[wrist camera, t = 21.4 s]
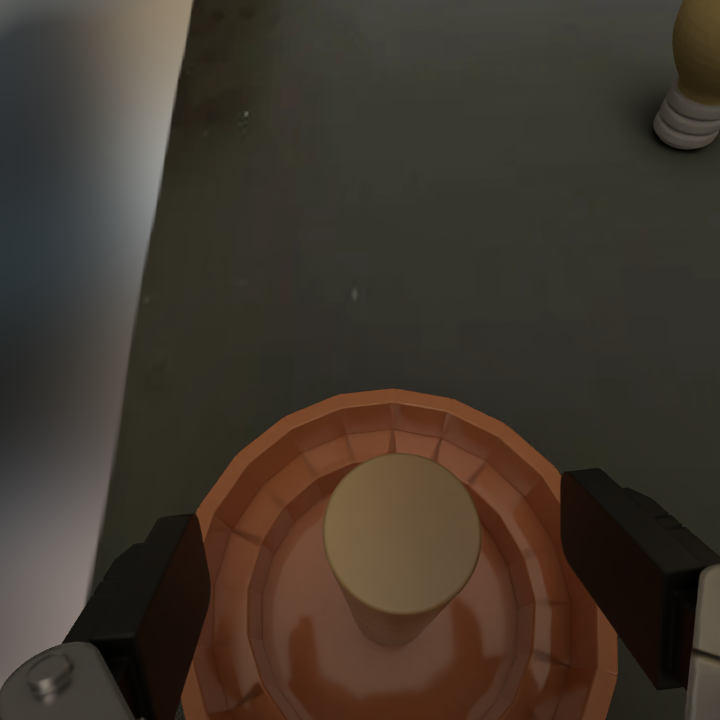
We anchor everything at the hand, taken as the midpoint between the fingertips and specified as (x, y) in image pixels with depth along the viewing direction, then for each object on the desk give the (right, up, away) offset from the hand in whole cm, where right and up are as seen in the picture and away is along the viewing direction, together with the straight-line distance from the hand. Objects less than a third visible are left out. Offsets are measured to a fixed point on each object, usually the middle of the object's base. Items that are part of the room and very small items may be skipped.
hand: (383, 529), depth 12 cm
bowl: (+1, -6, +9) cm, 11 cm away
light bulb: (+20, +18, +23) cm, 35 cm away
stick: (+1, -5, +9) cm, 10 cm away
